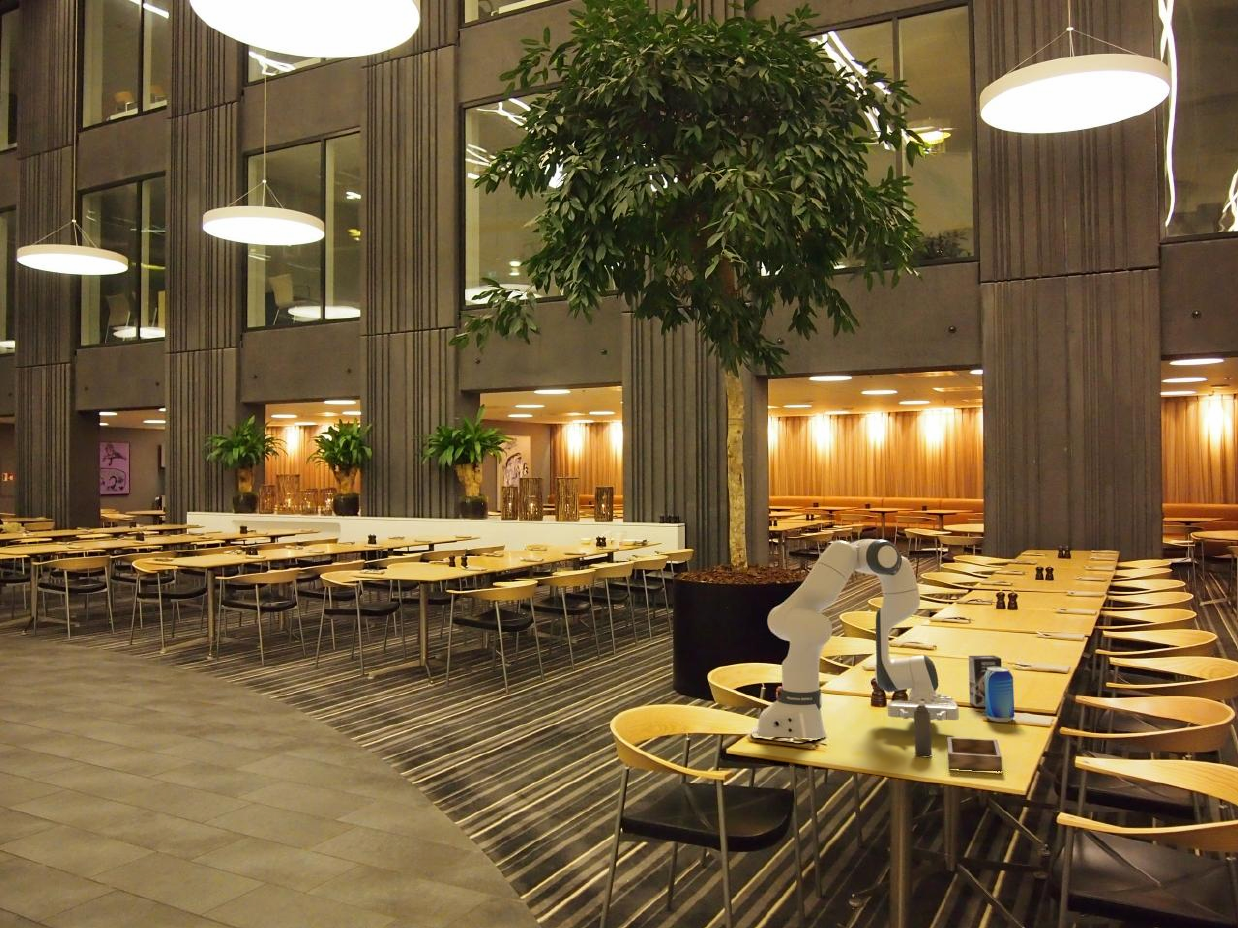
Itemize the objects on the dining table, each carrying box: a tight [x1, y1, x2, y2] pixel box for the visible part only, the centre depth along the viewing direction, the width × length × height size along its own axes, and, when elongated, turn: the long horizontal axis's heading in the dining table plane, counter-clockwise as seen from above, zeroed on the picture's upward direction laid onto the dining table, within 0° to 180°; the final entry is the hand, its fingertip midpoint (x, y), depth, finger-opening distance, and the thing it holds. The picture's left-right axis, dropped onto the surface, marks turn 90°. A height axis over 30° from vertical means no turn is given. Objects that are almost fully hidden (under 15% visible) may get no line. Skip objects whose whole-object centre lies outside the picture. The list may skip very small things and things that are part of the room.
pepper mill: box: [913, 701, 933, 757], centre depth 258 cm, size 4×4×15 cm
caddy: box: [946, 736, 1003, 772], centre depth 249 cm, size 13×16×4 cm
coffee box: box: [968, 654, 1002, 708], centre depth 312 cm, size 9×6×16 cm
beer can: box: [984, 666, 1015, 723], centre depth 293 cm, size 8×8×16 cm
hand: (922, 716), depth 269 cm, fingers open, 8 cm apart
